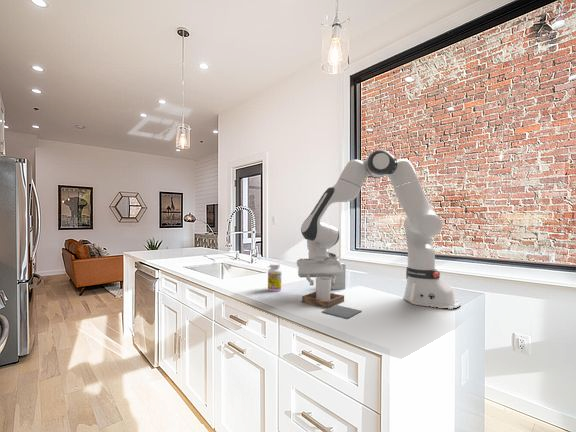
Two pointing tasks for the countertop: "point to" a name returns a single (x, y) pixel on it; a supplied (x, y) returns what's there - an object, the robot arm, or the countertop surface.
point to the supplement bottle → (274, 277)
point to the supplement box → (340, 280)
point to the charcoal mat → (341, 311)
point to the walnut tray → (327, 304)
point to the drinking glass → (323, 288)
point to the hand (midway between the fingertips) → (322, 284)
